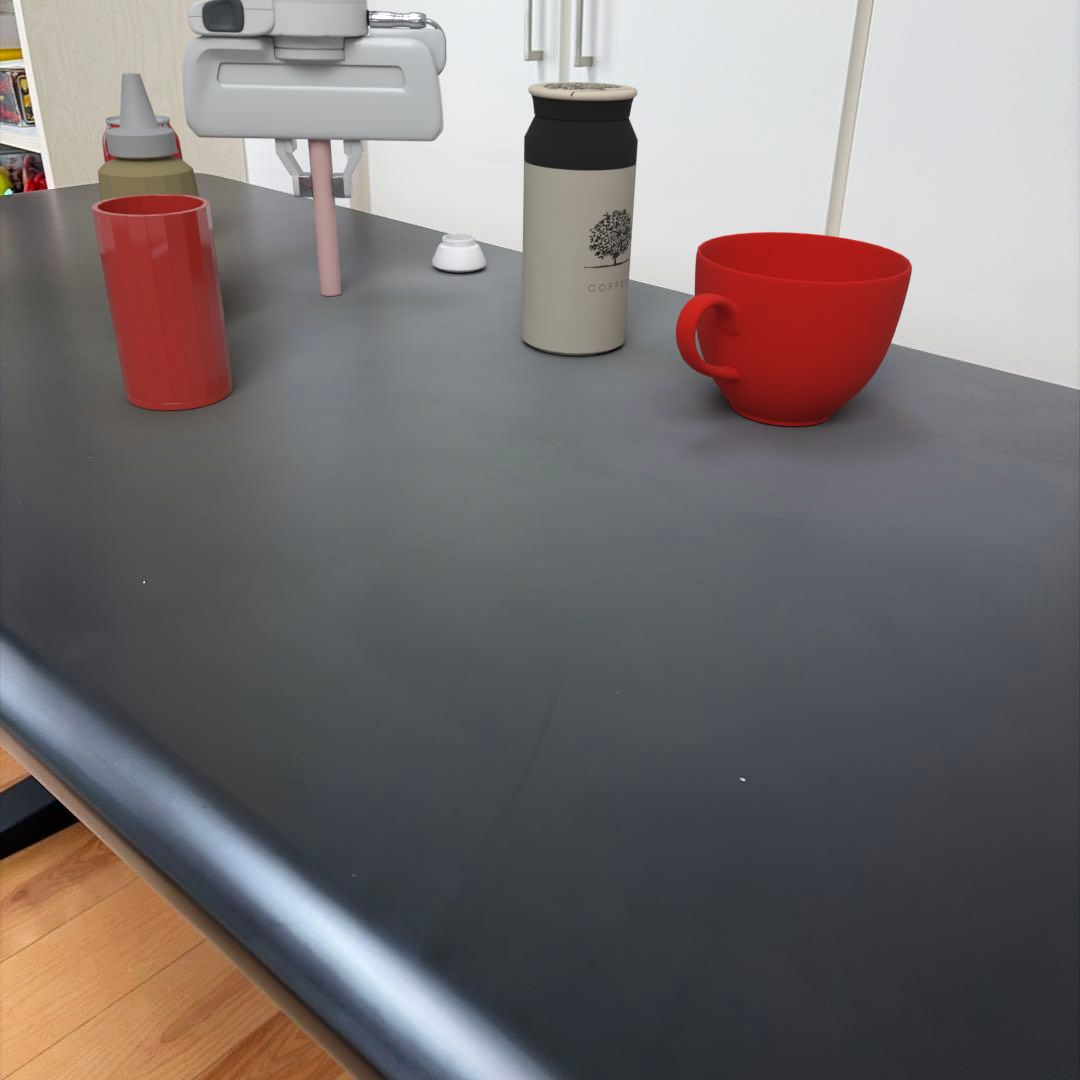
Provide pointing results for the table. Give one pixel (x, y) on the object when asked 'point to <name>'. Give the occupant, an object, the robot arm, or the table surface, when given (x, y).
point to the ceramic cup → (791, 321)
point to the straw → (325, 216)
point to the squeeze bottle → (142, 151)
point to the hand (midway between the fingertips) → (323, 196)
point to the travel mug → (578, 217)
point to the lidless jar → (459, 254)
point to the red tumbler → (164, 299)
